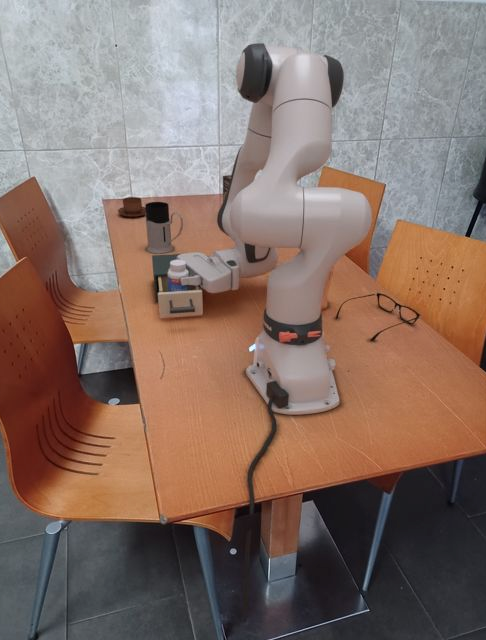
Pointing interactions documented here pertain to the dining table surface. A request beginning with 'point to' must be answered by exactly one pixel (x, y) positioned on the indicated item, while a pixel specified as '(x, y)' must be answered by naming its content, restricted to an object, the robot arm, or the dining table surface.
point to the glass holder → (159, 227)
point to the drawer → (179, 300)
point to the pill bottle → (177, 276)
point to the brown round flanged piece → (132, 207)
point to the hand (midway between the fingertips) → (174, 276)
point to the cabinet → (161, 268)
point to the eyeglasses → (387, 311)
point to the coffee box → (225, 185)
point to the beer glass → (326, 290)
